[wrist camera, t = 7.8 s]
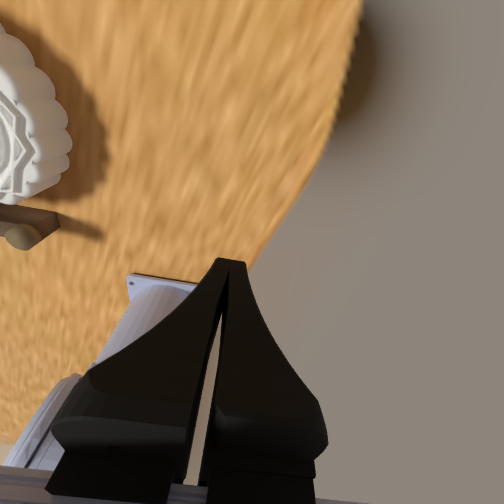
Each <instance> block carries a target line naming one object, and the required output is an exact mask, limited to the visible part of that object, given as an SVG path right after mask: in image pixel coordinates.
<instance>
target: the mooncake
mask: <svg viewBox="0 0 504 504" xmlns="http://www.w3.org/2000/svg"><path fill="white" fill-rule="evenodd" d="M55 97H56V92H55V88H54V85H53V83H52V81H51V79H50V78H49V77H48V76H47V74H46V73H45V72H43V71H42V70H41V69H39V68H37V67H35V62H34V58H33V56H32V54H31V52H30V51H29V49H28V48H27V46H26V45H25V44H24V43H23V42H22V41H21V40H19V39H18V38H16V37H14V36H12V35H10V34H6V31H5V29H4V27H3V26H2V24H1V23H0V204H1V203H4V204H8V205H14V204H17V203H19V202H21V201H23V200H25V199H27V198H29V197H31V196H33V195H36V194H38V193H40V192H42V191H43V190H45V189H47V188H49V187H51V186H53V185H55V184H57V183H58V182H59V181H60V179H61V174H60V173H62V172H64V171H66V170H67V169H68V168H69V165H70V161H69V158H68V156H67V153H68V152H70V151H71V149H72V146H73V143H72V139H71V136H70V135H69V133H68V132H67V131H66V129H65V128H66V127H67V125H68V116H67V113H66V111H65V109H64V108H63V106H62V105H61V104H60V103H59V102H58V101H57V100H55Z"/></svg>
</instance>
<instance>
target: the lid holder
mask: <svg viewBox="0 0 504 504" xmlns="http://www.w3.org/2000/svg"><path fill="white" fill-rule="evenodd" d="M58 228H60V225H59V222H58V219H57V216H56V213H55V212H52V211H46V210H41V209H35V208H29V207H24V206H18V205H8V204H4V203H1V204H0V236H2V237H5V238H6V240H7V241H8V243H10V244H11V245H12V246H13V247H15V248H17V249H20V250H29V249H31V248H32V247H33V246H35V245H36V244H38V243H39V242H40V241H42V240H43V239H44V238H46V237H47V236H49V235H50V234H51V233H53V232H54V231H55V230H57V229H58Z"/></svg>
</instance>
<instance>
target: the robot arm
mask: <svg viewBox="0 0 504 504" xmlns="http://www.w3.org/2000/svg"><path fill="white" fill-rule="evenodd" d="M126 279H127V286H128V292H129V298H130V304H129V306H128V308H127V309H126V311H125V313H124V314H123V316H122V318H121V319H120V321H119V323H118V324H117V326H116V328H115V329H114V331H113V333H112V334H111V336H110V338H109V339H108V341H107V343H106V344H105V346H104V348H103V349H102V351H101V353H100V354H99V356H98V358H97V359H96V361H95V363H92V364H91V365H90V367H89V369H88V370H87V372H86V373H85V375H84V376H83V377H82V375H80V374H77V373H74V374H72V375H71V376H70V377H66V378H64V379H62V380H60V381H59V382H58V383H57V385H56V386H55V387H54V388H53V389H52V391H51V392H50V393H49V395H48V396H47V398H46V399H45V400H44V402H43V403H42V405H41V406H40V407H39V409H38V410H37V412H36V413H35V415H34V416H33V418H32V419H31V421H30V422H29V424H28V425H27V427H26V428H25V430H24V431H23V433H22V434H21V436H20V437H19V439H18V441H17V442H16V444H15V445H14V447H13V449H12V450H11V452H10V454H9V455H8V457H7V459H6V460H5V462H4V464H3V466H1V465H0V504H367V503H358V502H357V503H356V502H348V501H338V500H328V499H319V498H315V492H314V484H313V479H314V478H315V477H316V473H315V472H316V471H315V464H314V460H315V459H316V458H317V457H318V456H319V455H320V454H321V453H322V452H323V451H324V450H325V449H326V447H327V446H328V435H327V430H326V425H325V422H324V418H323V415H322V412H321V408H320V405H319V402H318V400H317V399H316V398H315V396H314V395H313V394H312V393H311V392H310V390H309V389H308V388H307V387H306V385H305V384H304V383H303V381H302V380H301V379H300V378H299V376H298V375H297V374H296V372H295V371H294V369H293V368H292V367H291V365H290V364H289V362H288V361H287V359H286V358H285V356H284V355H283V353H282V351H281V350H280V348H279V347H278V345H277V344H276V342H275V340H274V338H273V337H272V335H271V333H270V331H269V330H268V327H267V325H266V323H265V321H264V319H263V317H262V315H261V313H260V310H259V308H258V305H257V303H256V300H255V298H254V295H253V292H252V289H251V285H250V282H249V278H248V274H247V268H246V263H245V262H243V261H237V260H231V259H225V258H219V257H218V258H216V259H215V261H214V263H213V265H212V266H211V268H210V269H209V271H208V272H207V274H206V275H205V276H204V277H203V279H202V280H201V281H200V282H199V284H192V283H185V282H179V281H173V280H167V279H161V278H155V277H149V276H142V275H136V274H129V275H128V276H127V278H126ZM222 310H223V311H222ZM221 314H222V324H221V336H220V349H219V359H218V367H217V372H216V378H215V385H214V391H213V396H212V402H211V408H210V414H209V420H208V426H207V432H206V438H205V444H204V450H203V456H202V461H201V468H200V473H199V479H198V485H197V486H194V485H184V484H183V481H184V479H185V478H186V474H187V468H188V463H189V458H190V453H191V448H192V442H193V437H194V432H195V427H196V421H197V416H198V410H199V405H200V400H201V395H202V390H203V385H204V380H205V375H206V370H207V364H208V360H209V356H210V352H211V349H212V345H213V342H214V338H215V335H216V331H217V328H218V324H219V321H220V317H221ZM81 377H82V378H81ZM80 379H81V380H80Z"/></svg>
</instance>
